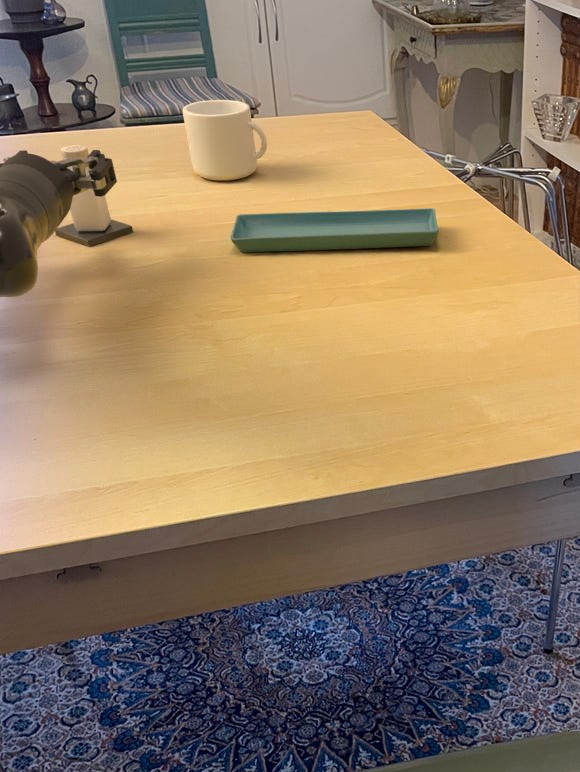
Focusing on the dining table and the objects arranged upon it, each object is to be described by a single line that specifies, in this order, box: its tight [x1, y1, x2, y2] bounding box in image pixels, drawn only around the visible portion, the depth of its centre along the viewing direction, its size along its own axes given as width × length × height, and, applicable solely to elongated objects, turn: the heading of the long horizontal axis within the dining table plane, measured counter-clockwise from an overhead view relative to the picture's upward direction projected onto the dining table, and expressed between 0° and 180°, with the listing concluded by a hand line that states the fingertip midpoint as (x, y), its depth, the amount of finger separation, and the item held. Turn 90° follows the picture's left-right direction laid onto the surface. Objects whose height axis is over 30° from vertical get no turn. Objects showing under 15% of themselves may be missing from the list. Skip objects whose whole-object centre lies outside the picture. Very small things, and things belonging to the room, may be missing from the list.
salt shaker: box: [60, 144, 112, 231], centre depth 120 cm, size 4×4×10 cm
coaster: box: [54, 218, 134, 248], centre depth 123 cm, size 7×7×1 cm
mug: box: [182, 99, 268, 182], centre depth 140 cm, size 12×10×9 cm
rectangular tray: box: [230, 207, 439, 253], centre depth 122 cm, size 26×9×2 cm, turn 95°
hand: (62, 159), depth 113 cm, fingers open, 8 cm apart
